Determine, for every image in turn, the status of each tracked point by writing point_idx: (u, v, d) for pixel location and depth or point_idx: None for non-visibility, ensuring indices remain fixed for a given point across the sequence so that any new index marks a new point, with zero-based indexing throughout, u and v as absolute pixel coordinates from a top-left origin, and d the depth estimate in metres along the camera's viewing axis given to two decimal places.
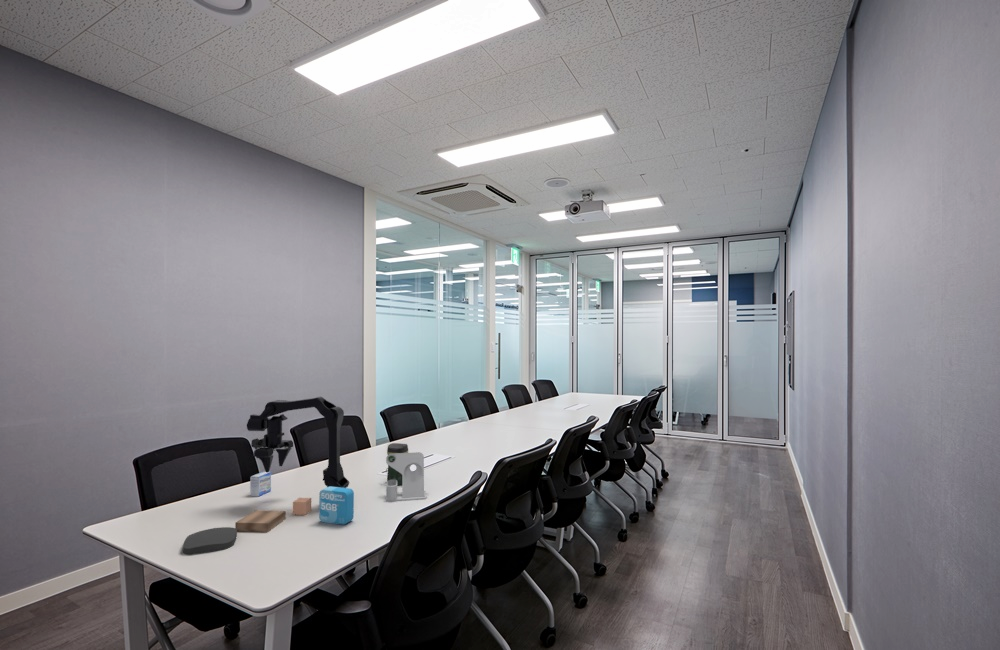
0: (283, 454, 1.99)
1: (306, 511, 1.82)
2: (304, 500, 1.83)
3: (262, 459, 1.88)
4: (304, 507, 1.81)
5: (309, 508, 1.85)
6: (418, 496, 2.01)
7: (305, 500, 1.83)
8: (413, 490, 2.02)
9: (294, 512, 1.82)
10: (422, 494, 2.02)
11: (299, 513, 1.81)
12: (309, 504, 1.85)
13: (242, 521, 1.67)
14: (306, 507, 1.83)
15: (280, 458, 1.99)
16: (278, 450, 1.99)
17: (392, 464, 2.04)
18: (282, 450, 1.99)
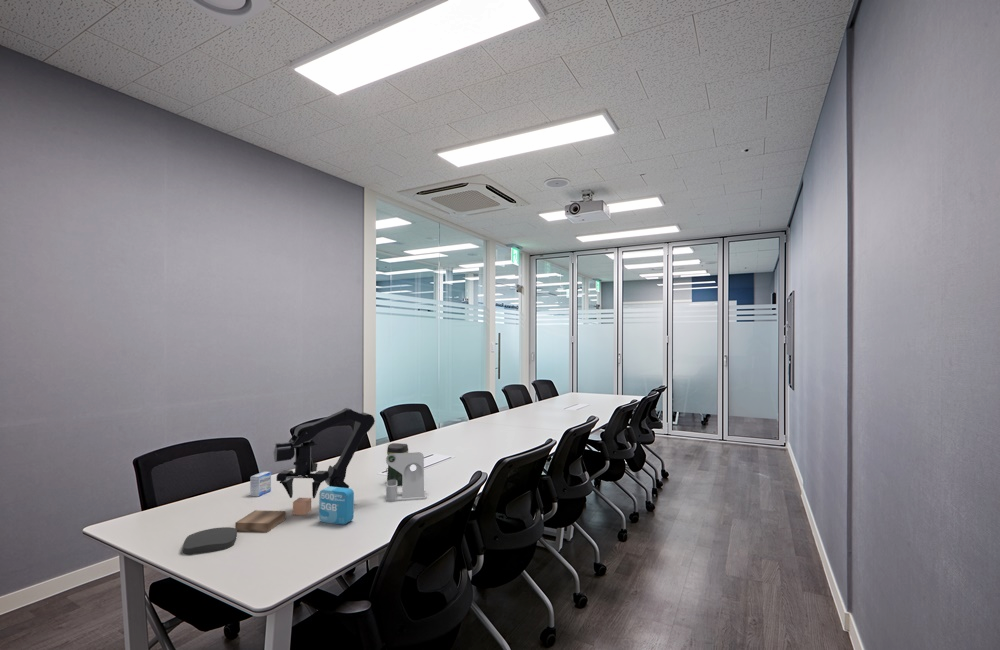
0: None
1: (306, 511, 1.82)
2: (304, 500, 1.83)
3: None
4: (304, 507, 1.81)
5: (309, 508, 1.85)
6: (418, 496, 2.01)
7: (305, 500, 1.83)
8: (413, 490, 2.02)
9: (294, 512, 1.82)
10: (422, 494, 2.02)
11: (299, 513, 1.81)
12: (309, 504, 1.85)
13: (242, 521, 1.67)
14: (306, 507, 1.83)
15: None
16: None
17: (392, 464, 2.04)
18: None
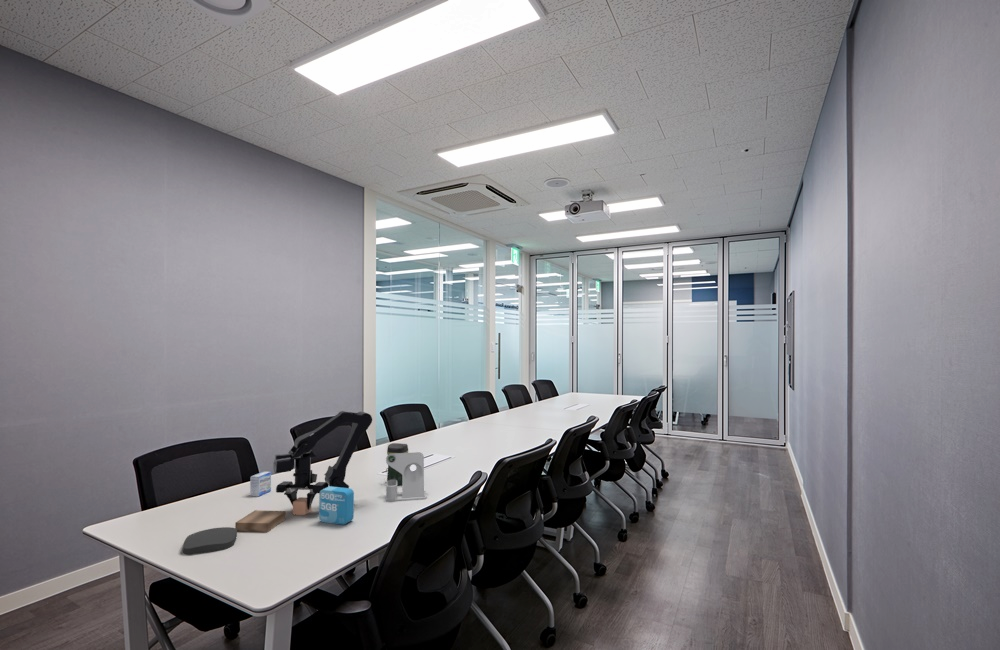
0: None
1: (306, 511, 1.82)
2: (304, 500, 1.83)
3: None
4: (304, 507, 1.81)
5: None
6: (418, 496, 2.01)
7: (305, 500, 1.83)
8: (413, 490, 2.02)
9: (294, 512, 1.82)
10: (422, 494, 2.02)
11: (299, 513, 1.81)
12: None
13: (242, 521, 1.67)
14: (306, 507, 1.83)
15: None
16: None
17: (392, 464, 2.04)
18: None
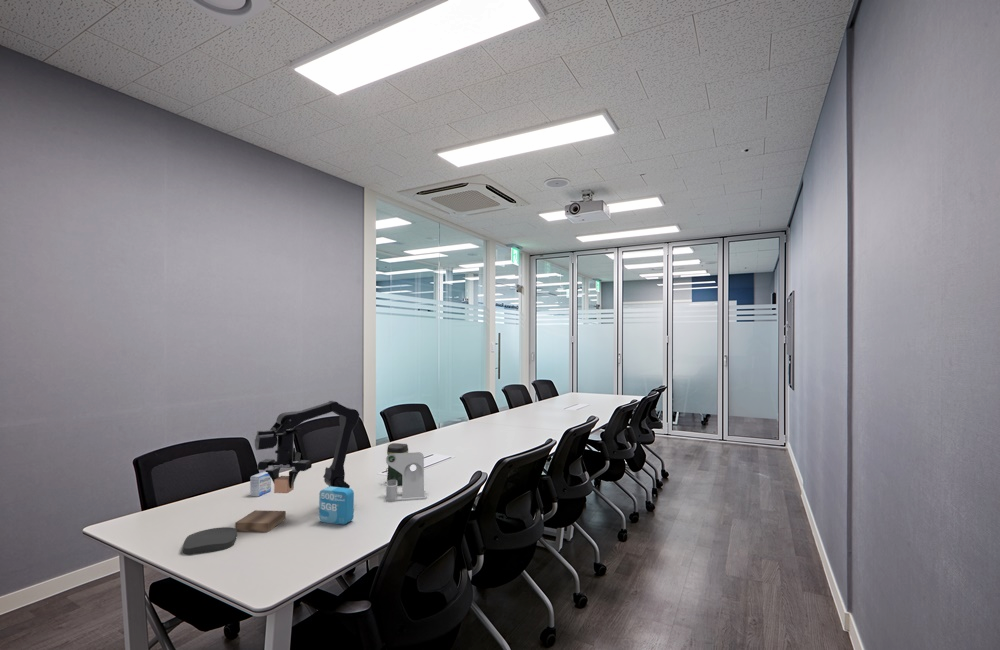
0: None
1: (288, 489, 1.77)
2: (286, 478, 1.78)
3: None
4: (286, 485, 1.76)
5: None
6: (418, 496, 2.01)
7: (287, 478, 1.78)
8: (413, 491, 2.02)
9: (275, 490, 1.76)
10: (422, 494, 2.02)
11: (281, 491, 1.76)
12: None
13: (242, 521, 1.67)
14: (288, 485, 1.77)
15: None
16: None
17: (392, 464, 2.04)
18: None
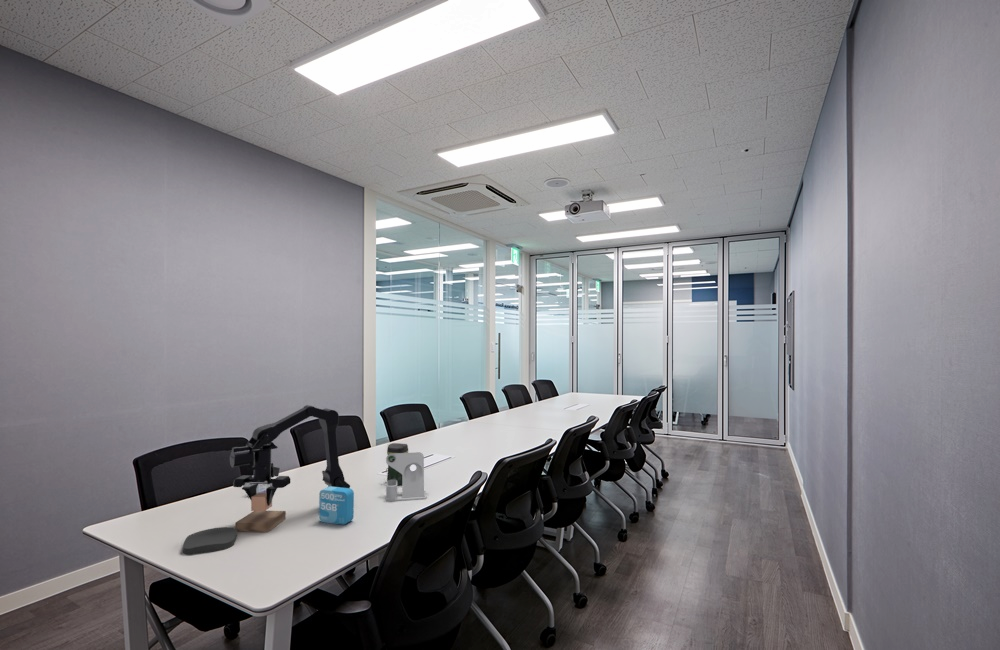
0: None
1: (266, 507, 1.70)
2: (264, 495, 1.71)
3: None
4: (263, 502, 1.69)
5: None
6: (418, 496, 2.01)
7: (265, 495, 1.71)
8: (413, 491, 2.02)
9: (253, 508, 1.69)
10: (422, 494, 2.02)
11: (258, 509, 1.69)
12: None
13: (242, 521, 1.67)
14: (266, 503, 1.70)
15: None
16: None
17: (392, 464, 2.04)
18: None
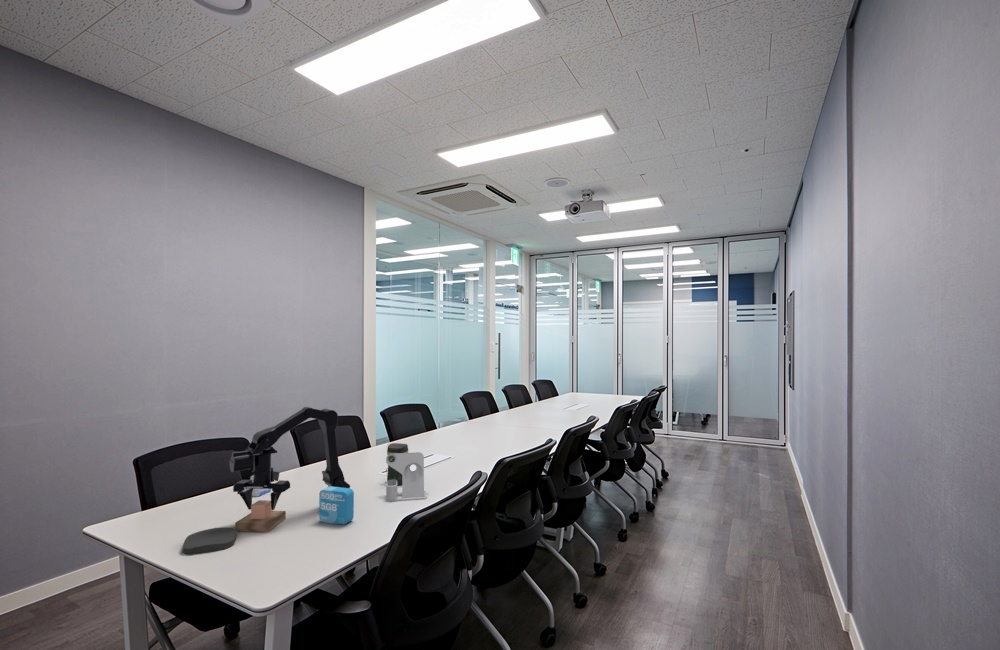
0: None
1: (265, 515, 1.70)
2: (263, 503, 1.71)
3: None
4: (263, 510, 1.69)
5: (269, 511, 1.72)
6: (418, 496, 2.01)
7: (265, 503, 1.71)
8: (413, 491, 2.02)
9: (252, 516, 1.69)
10: (422, 494, 2.02)
11: (258, 517, 1.69)
12: (269, 507, 1.72)
13: (242, 521, 1.67)
14: (266, 511, 1.70)
15: None
16: None
17: (392, 464, 2.04)
18: None
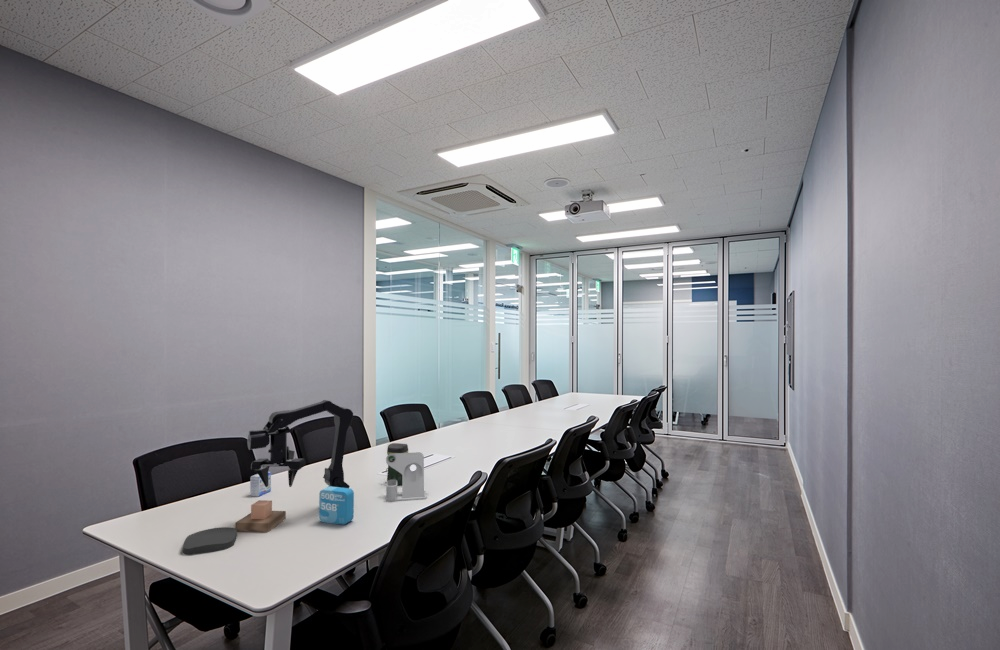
0: None
1: (265, 515, 1.70)
2: (263, 503, 1.71)
3: None
4: (263, 510, 1.69)
5: (269, 511, 1.72)
6: (418, 496, 2.01)
7: (265, 503, 1.71)
8: (413, 491, 2.02)
9: (252, 516, 1.69)
10: (422, 494, 2.02)
11: (258, 517, 1.69)
12: (269, 507, 1.72)
13: (242, 521, 1.67)
14: (266, 511, 1.70)
15: None
16: None
17: (392, 464, 2.04)
18: None
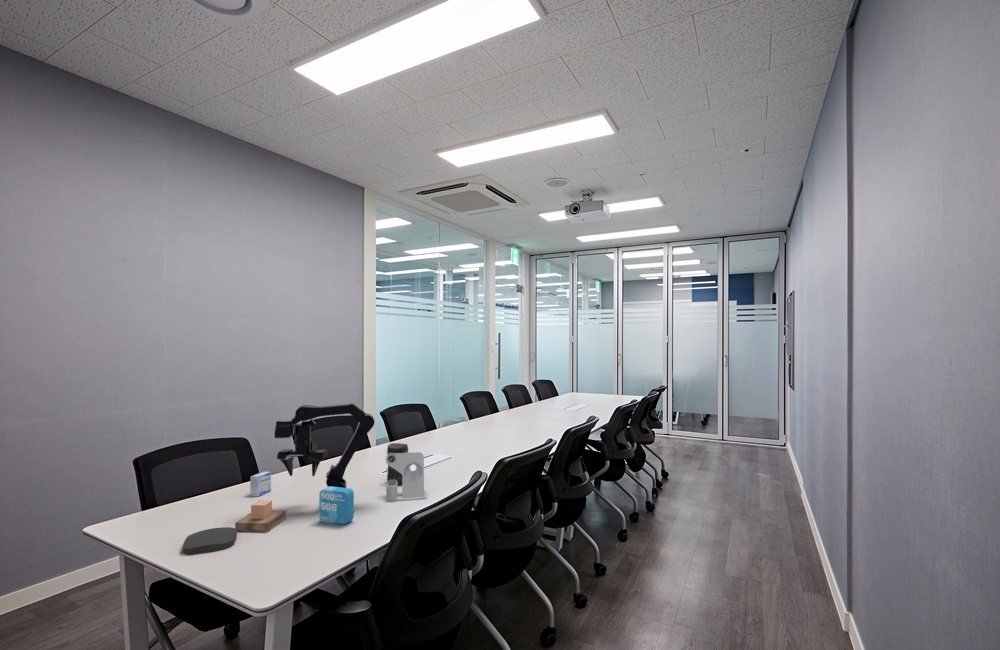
0: None
1: (265, 515, 1.70)
2: (263, 503, 1.71)
3: None
4: (263, 510, 1.69)
5: (269, 511, 1.72)
6: (418, 496, 2.01)
7: (265, 503, 1.71)
8: (413, 491, 2.02)
9: (252, 516, 1.69)
10: (422, 494, 2.02)
11: (258, 517, 1.69)
12: (269, 507, 1.72)
13: (242, 521, 1.67)
14: (266, 511, 1.70)
15: None
16: None
17: (392, 464, 2.04)
18: None
